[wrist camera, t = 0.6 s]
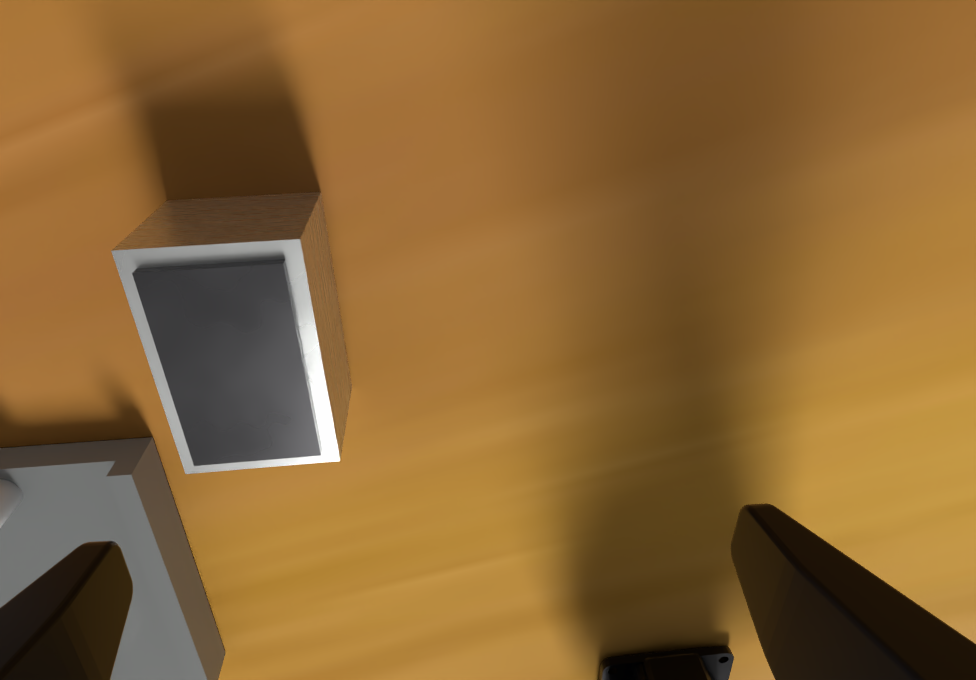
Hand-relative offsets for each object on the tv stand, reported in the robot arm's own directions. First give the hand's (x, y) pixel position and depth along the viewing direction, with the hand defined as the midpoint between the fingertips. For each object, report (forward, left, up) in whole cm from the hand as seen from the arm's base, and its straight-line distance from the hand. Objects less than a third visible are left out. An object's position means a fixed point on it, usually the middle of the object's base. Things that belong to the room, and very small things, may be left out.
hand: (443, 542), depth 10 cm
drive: (-2, +5, -13) cm, 14 cm away
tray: (-13, +15, -13) cm, 24 cm away
